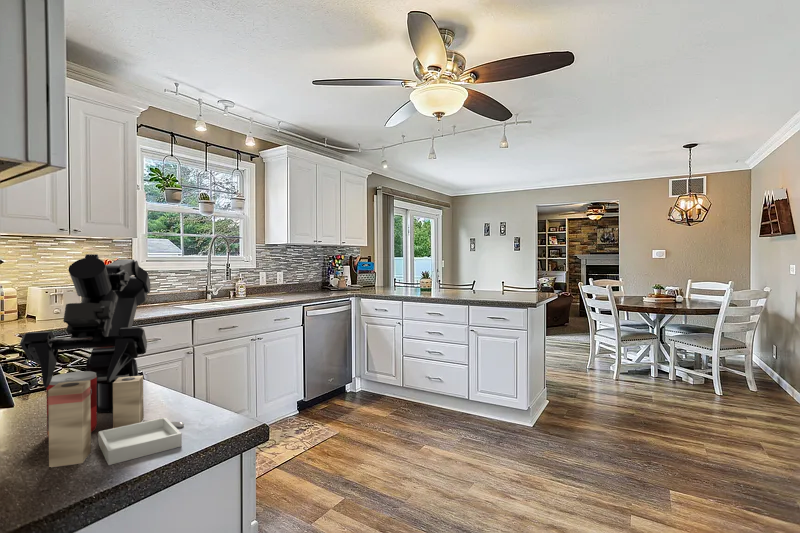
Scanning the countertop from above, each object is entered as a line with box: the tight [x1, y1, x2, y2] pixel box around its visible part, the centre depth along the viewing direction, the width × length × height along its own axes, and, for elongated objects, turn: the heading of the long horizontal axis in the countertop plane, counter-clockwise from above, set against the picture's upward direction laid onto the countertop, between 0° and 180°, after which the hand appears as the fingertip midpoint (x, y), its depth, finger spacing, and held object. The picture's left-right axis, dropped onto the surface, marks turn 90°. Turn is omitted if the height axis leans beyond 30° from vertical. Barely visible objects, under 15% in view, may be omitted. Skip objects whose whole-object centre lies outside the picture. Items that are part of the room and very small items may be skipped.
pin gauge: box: [142, 419, 185, 429], centre depth 88 cm, size 9×1×1 cm, turn 84°
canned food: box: [46, 370, 98, 438], centre depth 85 cm, size 8×8×11 cm
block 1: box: [48, 380, 92, 468], centre depth 73 cm, size 4×4×13 cm
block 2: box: [112, 375, 145, 429], centre depth 90 cm, size 4×4×9 cm
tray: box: [97, 417, 183, 466], centre depth 79 cm, size 11×11×2 cm
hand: (77, 383), depth 76 cm, fingers open, 9 cm apart
